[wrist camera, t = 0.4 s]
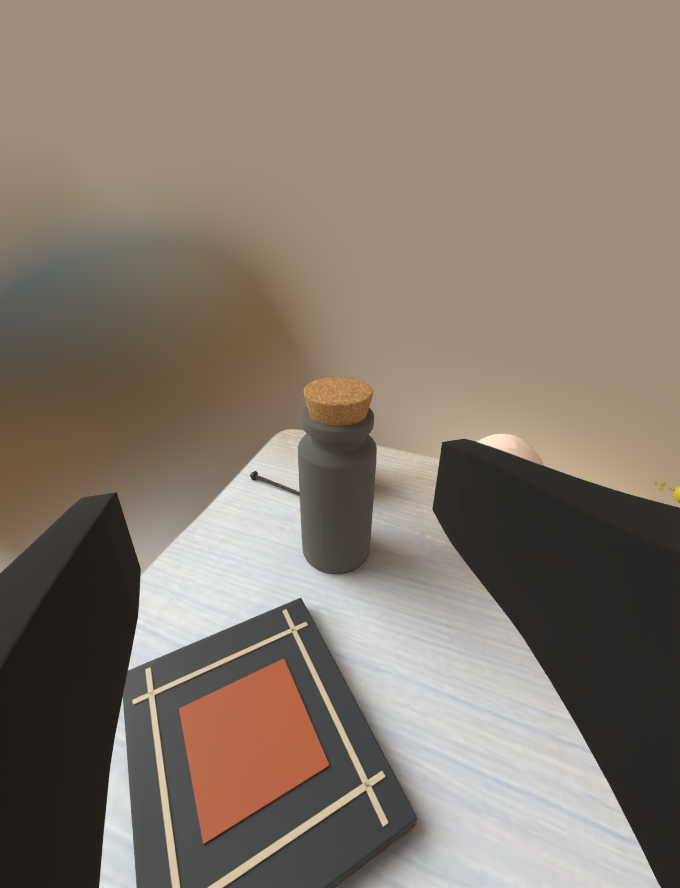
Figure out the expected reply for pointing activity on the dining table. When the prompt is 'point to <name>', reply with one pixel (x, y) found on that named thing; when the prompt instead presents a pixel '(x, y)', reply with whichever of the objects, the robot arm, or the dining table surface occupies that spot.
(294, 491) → the screw
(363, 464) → the bottle
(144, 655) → the dining table surface
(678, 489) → the toy
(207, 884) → the board
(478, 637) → the dining table surface
